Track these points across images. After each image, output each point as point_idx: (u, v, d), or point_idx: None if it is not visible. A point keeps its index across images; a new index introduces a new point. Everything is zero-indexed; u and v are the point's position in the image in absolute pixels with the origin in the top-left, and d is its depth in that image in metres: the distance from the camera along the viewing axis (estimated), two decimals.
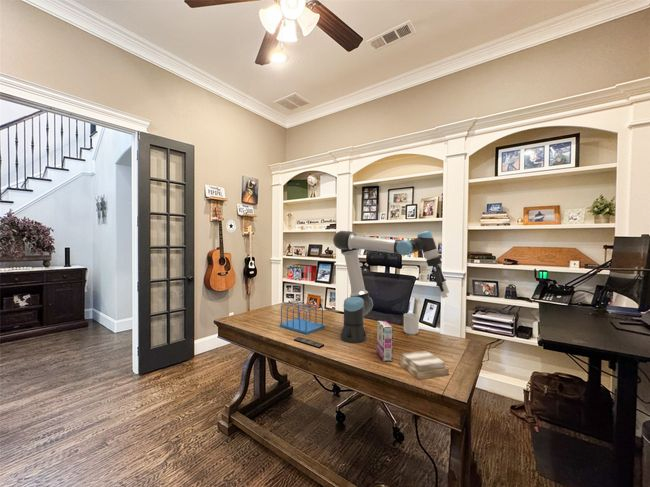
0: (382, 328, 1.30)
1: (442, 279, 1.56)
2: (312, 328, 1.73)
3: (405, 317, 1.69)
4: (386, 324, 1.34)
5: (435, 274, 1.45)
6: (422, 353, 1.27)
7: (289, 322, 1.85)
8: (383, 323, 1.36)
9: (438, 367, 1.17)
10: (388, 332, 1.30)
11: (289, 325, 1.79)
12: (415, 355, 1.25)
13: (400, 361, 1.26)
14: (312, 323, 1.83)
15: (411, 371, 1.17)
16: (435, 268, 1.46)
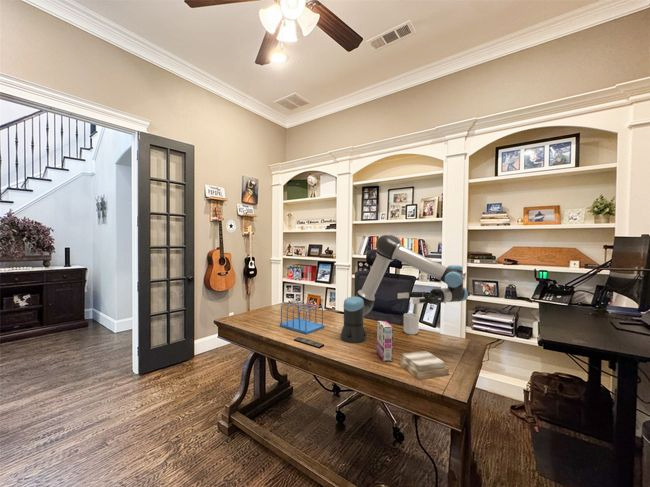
0: (382, 328, 1.30)
1: (411, 295, 1.47)
2: (312, 328, 1.73)
3: (405, 317, 1.69)
4: (386, 324, 1.34)
5: (436, 298, 1.35)
6: (422, 353, 1.27)
7: (289, 322, 1.86)
8: (383, 323, 1.36)
9: (438, 367, 1.17)
10: (388, 332, 1.30)
11: (289, 325, 1.79)
12: (415, 355, 1.25)
13: (400, 361, 1.26)
14: (312, 323, 1.83)
15: (411, 371, 1.17)
16: (440, 299, 1.36)
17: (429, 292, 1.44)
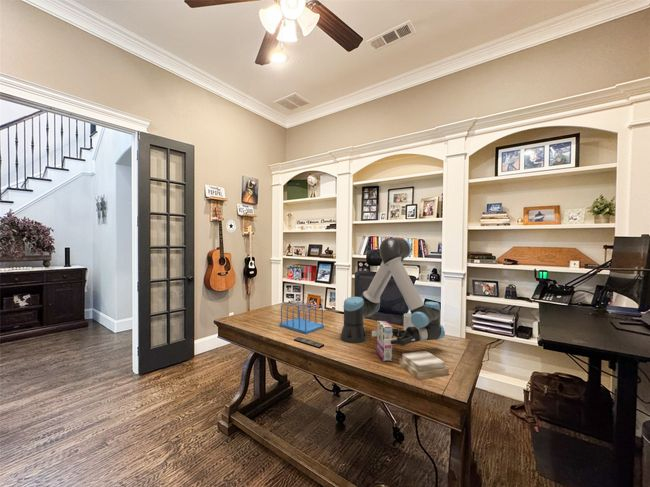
0: (382, 327, 1.30)
1: None
2: (312, 328, 1.74)
3: (405, 317, 1.69)
4: (386, 324, 1.34)
5: (409, 339, 1.30)
6: (422, 353, 1.27)
7: (289, 322, 1.86)
8: (383, 323, 1.36)
9: (438, 367, 1.17)
10: (388, 332, 1.30)
11: (289, 325, 1.80)
12: (415, 355, 1.25)
13: (400, 361, 1.26)
14: (312, 323, 1.84)
15: (411, 371, 1.17)
16: (414, 340, 1.32)
17: (404, 330, 1.39)
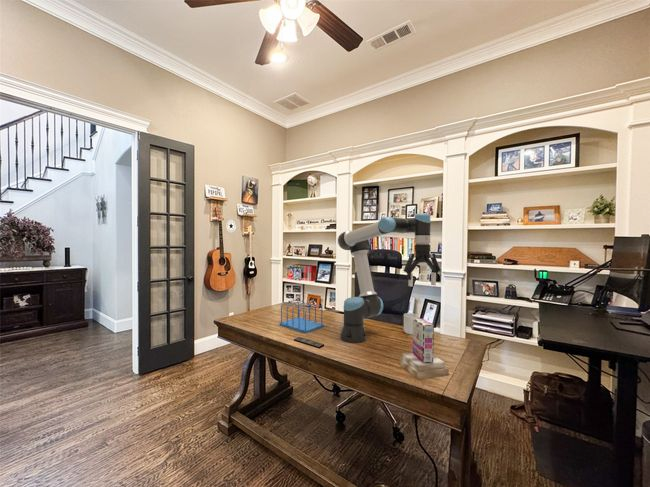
0: (422, 326, 1.17)
1: (433, 269, 1.40)
2: (311, 327, 1.75)
3: (405, 317, 1.69)
4: (425, 322, 1.21)
5: (408, 260, 1.37)
6: None
7: (289, 321, 1.88)
8: (421, 321, 1.23)
9: (438, 367, 1.17)
10: (429, 330, 1.17)
11: (289, 324, 1.81)
12: None
13: (400, 361, 1.26)
14: (312, 322, 1.85)
15: (411, 371, 1.17)
16: (411, 255, 1.36)
17: None
